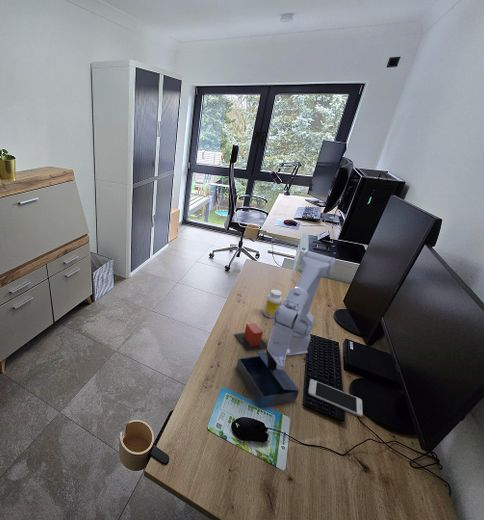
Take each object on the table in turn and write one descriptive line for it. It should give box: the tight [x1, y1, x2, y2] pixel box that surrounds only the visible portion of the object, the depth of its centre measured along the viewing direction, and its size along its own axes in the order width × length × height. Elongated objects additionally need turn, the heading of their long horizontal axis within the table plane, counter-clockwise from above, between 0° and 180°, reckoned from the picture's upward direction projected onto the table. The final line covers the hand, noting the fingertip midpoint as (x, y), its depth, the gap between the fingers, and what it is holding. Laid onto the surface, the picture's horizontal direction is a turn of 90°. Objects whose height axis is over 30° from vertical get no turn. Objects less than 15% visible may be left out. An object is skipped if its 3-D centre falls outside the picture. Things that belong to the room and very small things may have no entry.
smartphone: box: [307, 378, 364, 418], centre depth 99 cm, size 7×15×1 cm, turn 57°
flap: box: [255, 350, 300, 392], centre depth 101 cm, size 6×17×1 cm, turn 10°
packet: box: [243, 322, 264, 346], centre depth 121 cm, size 4×6×7 cm, turn 10°
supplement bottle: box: [262, 289, 283, 319], centre depth 137 cm, size 7×7×13 cm
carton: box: [235, 355, 300, 409], centre depth 102 cm, size 13×17×5 cm
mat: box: [234, 332, 268, 352], centre depth 123 cm, size 10×10×1 cm
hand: (271, 368), depth 100 cm, fingers closed
